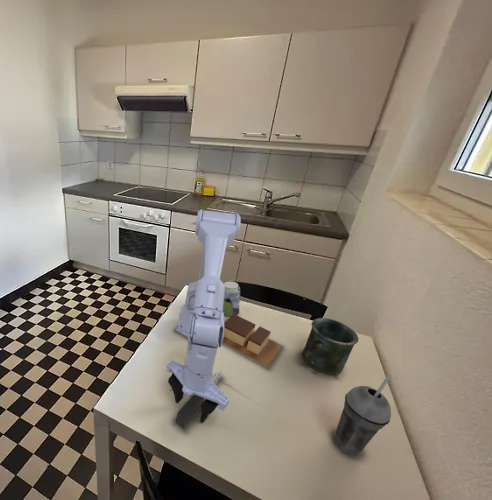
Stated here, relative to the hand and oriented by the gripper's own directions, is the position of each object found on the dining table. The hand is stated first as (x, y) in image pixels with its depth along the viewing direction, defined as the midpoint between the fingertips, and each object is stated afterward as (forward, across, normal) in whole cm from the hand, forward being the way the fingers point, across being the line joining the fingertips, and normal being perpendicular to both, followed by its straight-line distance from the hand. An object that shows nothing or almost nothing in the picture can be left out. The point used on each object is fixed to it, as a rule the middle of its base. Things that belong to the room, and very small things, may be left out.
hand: (190, 409), depth 63 cm
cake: (+1, -4, +34) cm, 34 cm away
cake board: (+1, -1, +33) cm, 33 cm away
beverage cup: (+2, +28, +18) cm, 33 cm away
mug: (+2, +18, +39) cm, 43 cm away
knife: (+1, 0, +5) cm, 5 cm away
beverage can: (+2, -12, +43) cm, 45 cm away
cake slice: (+1, +2, +34) cm, 34 cm away
